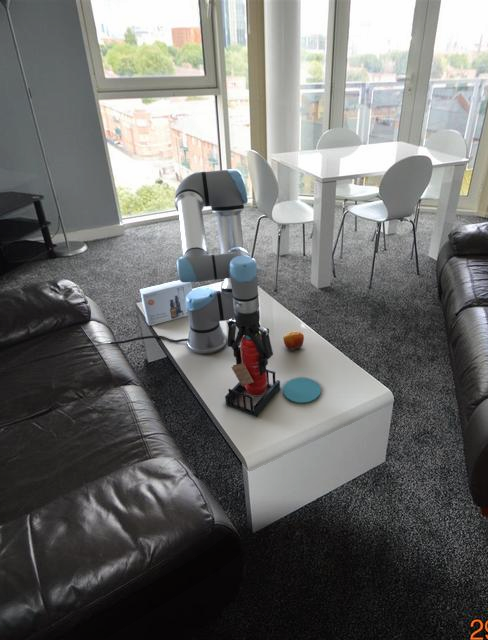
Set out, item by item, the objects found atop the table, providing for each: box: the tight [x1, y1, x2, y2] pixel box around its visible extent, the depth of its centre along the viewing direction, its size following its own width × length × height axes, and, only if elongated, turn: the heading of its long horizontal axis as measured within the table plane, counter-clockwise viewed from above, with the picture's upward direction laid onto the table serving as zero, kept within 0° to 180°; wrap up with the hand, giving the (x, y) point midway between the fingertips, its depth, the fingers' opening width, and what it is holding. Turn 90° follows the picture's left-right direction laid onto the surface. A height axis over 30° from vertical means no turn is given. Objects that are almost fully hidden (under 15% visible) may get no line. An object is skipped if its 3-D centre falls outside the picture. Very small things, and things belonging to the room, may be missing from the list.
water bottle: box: [231, 334, 268, 397], centre depth 142 cm, size 12×8×25 cm, turn 129°
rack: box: [224, 368, 281, 418], centre depth 147 cm, size 12×15×7 cm
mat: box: [282, 377, 322, 405], centre depth 151 cm, size 13×13×1 cm
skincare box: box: [139, 279, 193, 327], centre depth 190 cm, size 21×6×16 cm, turn 120°
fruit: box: [283, 330, 305, 352], centre depth 172 cm, size 8×8×8 cm
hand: (251, 368), depth 143 cm, fingers closed on water bottle, 8 cm apart
